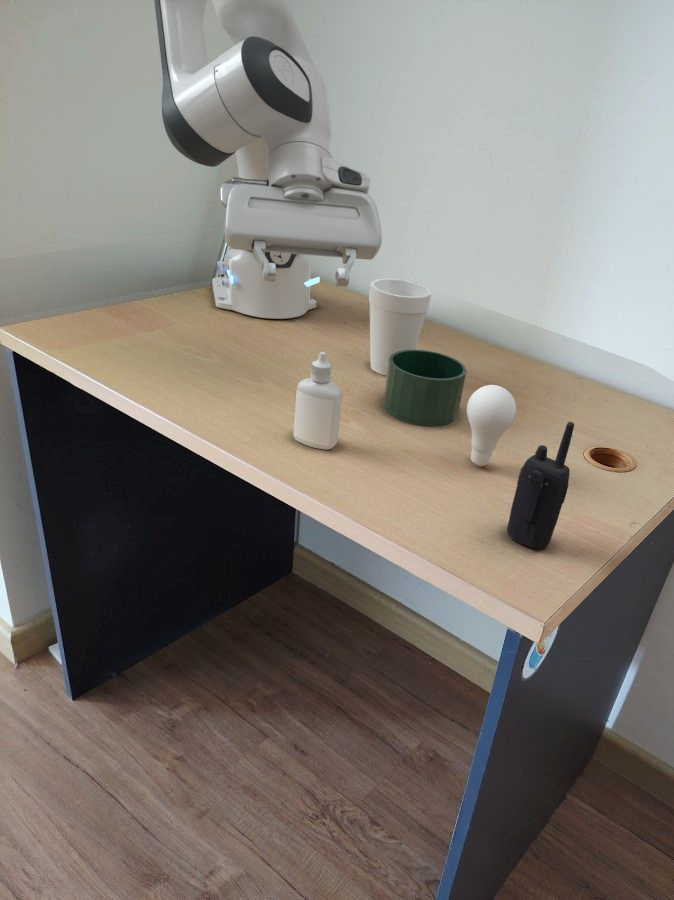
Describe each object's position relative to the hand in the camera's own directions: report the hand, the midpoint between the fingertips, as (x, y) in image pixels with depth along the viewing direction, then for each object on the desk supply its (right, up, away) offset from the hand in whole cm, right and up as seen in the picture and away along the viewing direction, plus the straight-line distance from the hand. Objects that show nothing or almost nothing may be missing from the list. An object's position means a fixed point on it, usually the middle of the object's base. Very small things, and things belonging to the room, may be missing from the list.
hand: (306, 281), depth 98 cm
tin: (+15, -14, +14) cm, 25 cm away
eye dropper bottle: (+1, -21, 0) cm, 21 cm away
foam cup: (+10, -6, +25) cm, 28 cm away
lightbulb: (+22, -24, +2) cm, 32 cm away
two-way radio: (+26, -34, -12) cm, 44 cm away
